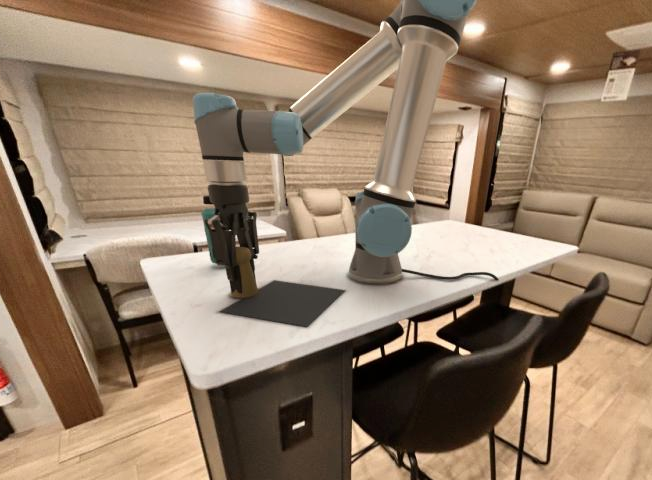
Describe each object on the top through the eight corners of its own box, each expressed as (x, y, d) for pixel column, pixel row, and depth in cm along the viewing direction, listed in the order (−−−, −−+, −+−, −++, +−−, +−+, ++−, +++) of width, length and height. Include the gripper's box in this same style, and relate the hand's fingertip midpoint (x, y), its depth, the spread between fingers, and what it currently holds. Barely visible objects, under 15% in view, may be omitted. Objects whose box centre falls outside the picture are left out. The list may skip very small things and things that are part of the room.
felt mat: (344, 290, 78) (344, 290, 78) (306, 327, 60) (306, 326, 60) (274, 281, 82) (274, 280, 82) (219, 312, 64) (219, 311, 64)
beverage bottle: (239, 263, 95) (229, 195, 87) (227, 270, 89) (215, 197, 81) (219, 261, 95) (207, 193, 87) (206, 268, 89) (191, 196, 81)
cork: (241, 300, 70) (233, 252, 65) (225, 293, 73) (216, 248, 68) (263, 291, 74) (257, 247, 70) (248, 286, 77) (241, 243, 73)
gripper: (239, 181, 72) (253, 275, 82) (177, 184, 57) (202, 300, 66) (267, 182, 70) (278, 278, 80) (211, 186, 55) (232, 305, 65)
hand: (244, 288), depth 73 cm, fingers closed on cork, 4 cm apart
